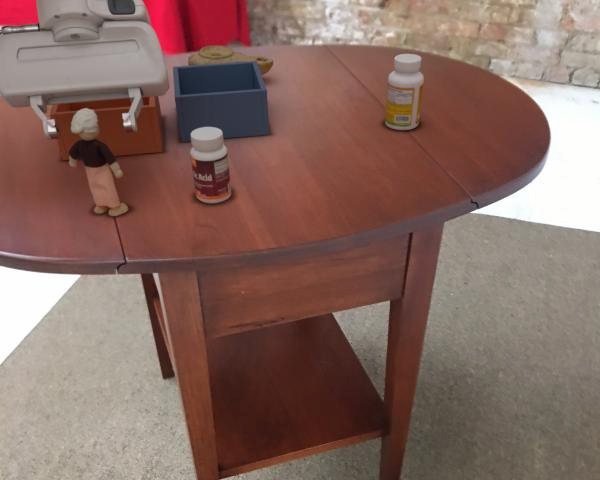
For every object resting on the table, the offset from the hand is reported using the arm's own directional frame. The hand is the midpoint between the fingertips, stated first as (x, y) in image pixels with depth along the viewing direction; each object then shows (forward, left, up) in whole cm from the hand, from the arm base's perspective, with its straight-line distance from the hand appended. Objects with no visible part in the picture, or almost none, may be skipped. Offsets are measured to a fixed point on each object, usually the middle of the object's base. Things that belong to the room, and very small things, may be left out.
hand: (92, 133), depth 77 cm
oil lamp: (+20, +43, -9) cm, 48 cm away
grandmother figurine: (0, -2, -9) cm, 9 cm away
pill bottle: (+14, -1, -9) cm, 17 cm away
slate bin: (+17, +24, -9) cm, 31 cm away
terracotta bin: (0, +21, -9) cm, 23 cm away
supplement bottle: (+45, +17, -9) cm, 49 cm away
